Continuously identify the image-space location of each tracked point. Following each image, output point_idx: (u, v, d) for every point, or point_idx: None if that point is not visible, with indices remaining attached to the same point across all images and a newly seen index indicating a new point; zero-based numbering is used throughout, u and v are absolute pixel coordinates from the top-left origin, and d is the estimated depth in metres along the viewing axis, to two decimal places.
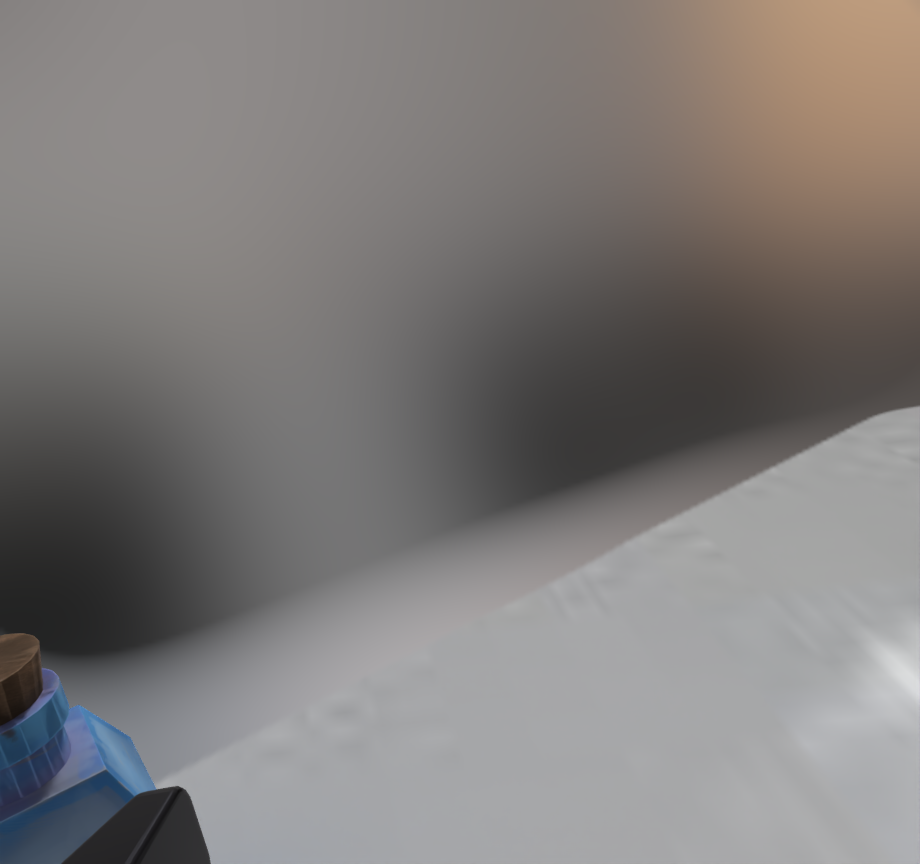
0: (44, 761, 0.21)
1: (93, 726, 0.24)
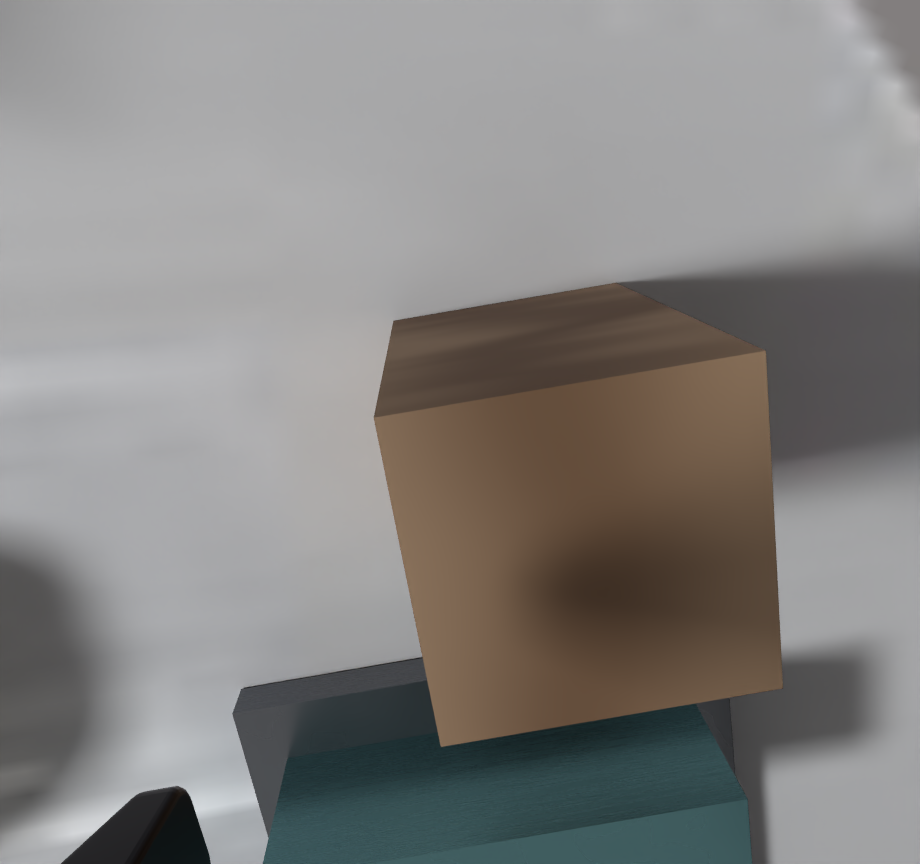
0: None
1: None
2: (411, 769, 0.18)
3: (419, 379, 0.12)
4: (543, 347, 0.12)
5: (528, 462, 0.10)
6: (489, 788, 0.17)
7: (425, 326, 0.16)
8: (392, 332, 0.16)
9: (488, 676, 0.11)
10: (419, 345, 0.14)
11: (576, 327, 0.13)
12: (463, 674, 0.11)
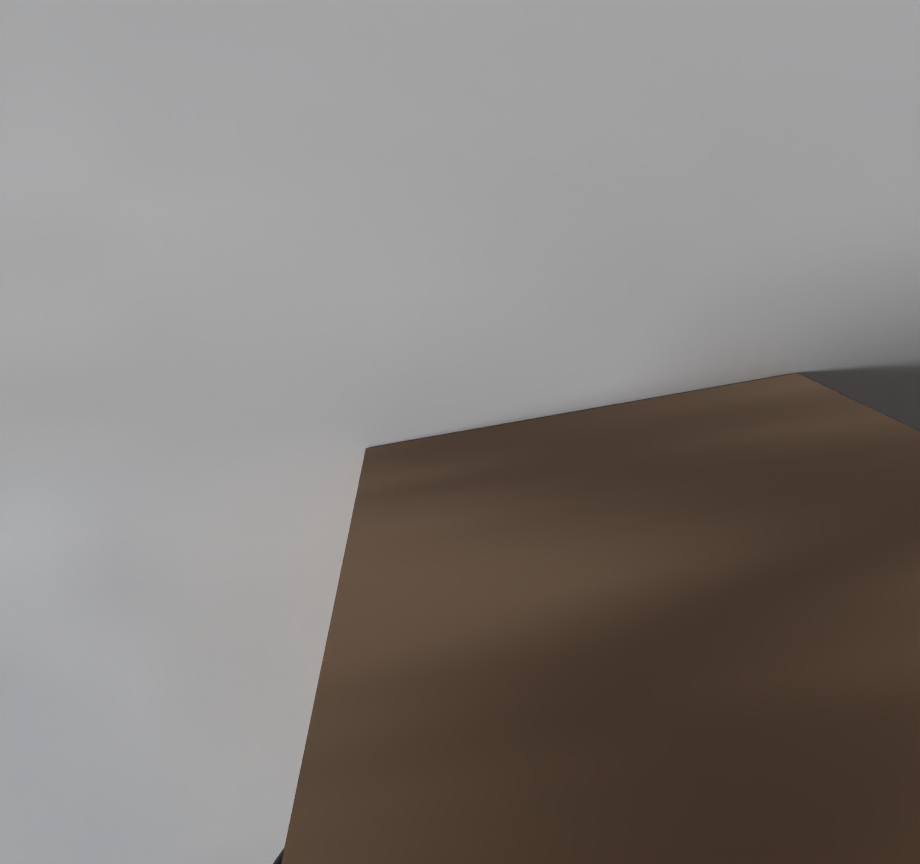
0: None
1: None
2: None
3: None
4: (815, 718, 0.04)
5: None
6: None
7: (428, 484, 0.08)
8: (358, 499, 0.08)
9: None
10: (414, 589, 0.06)
11: (846, 575, 0.05)
12: None
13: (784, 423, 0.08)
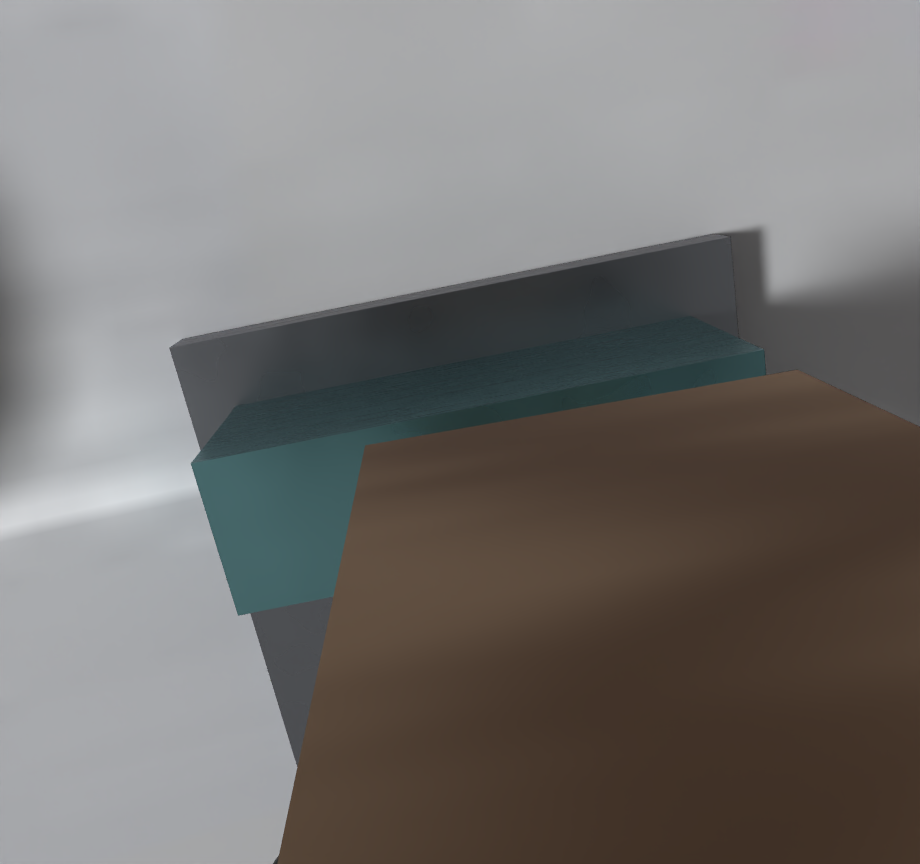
0: None
1: None
2: (375, 391, 0.16)
3: None
4: (818, 712, 0.04)
5: None
6: (463, 386, 0.15)
7: (427, 481, 0.08)
8: (357, 496, 0.08)
9: None
10: (413, 584, 0.06)
11: (847, 570, 0.05)
12: None
13: (784, 419, 0.08)
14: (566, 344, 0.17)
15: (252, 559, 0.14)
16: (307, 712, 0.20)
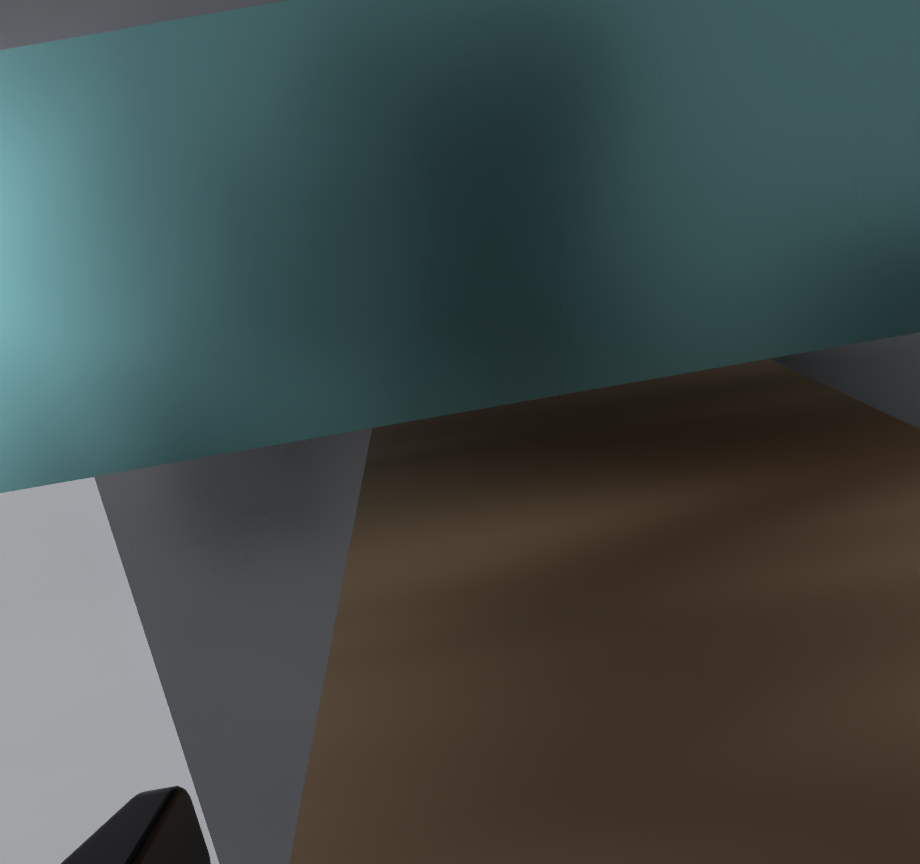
0: None
1: None
2: None
3: (419, 757, 0.04)
4: (743, 615, 0.05)
5: None
6: None
7: (429, 453, 0.09)
8: (367, 467, 0.08)
9: None
10: (418, 534, 0.07)
11: (783, 515, 0.06)
12: None
13: (747, 398, 0.08)
14: None
15: (21, 352, 0.06)
16: (220, 722, 0.11)
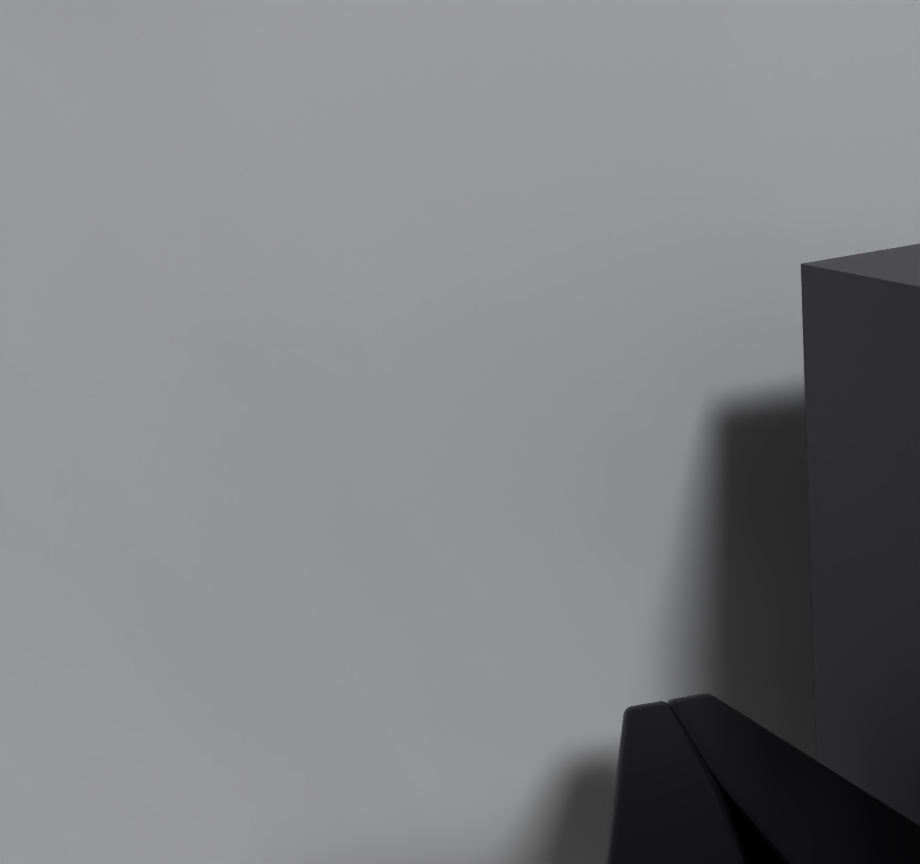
0: None
1: None
2: None
3: None
4: None
5: None
6: None
7: None
8: None
9: None
10: None
11: None
12: None
13: None
14: None
15: None
16: None
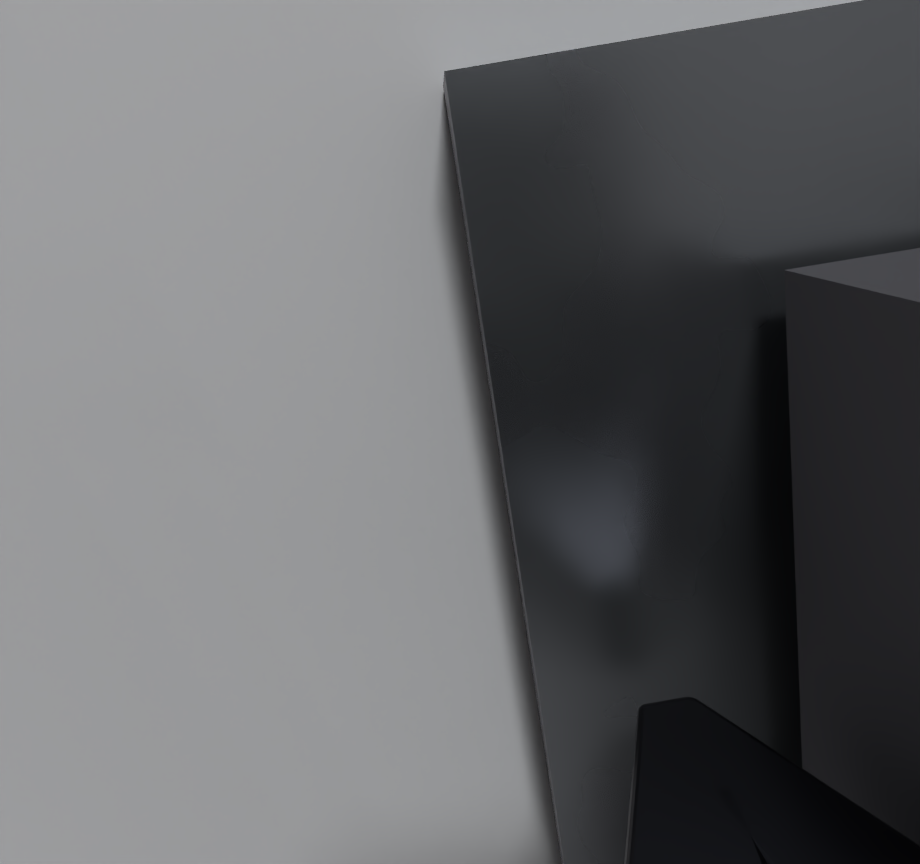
0: None
1: None
2: None
3: None
4: None
5: None
6: None
7: None
8: None
9: None
10: None
11: None
12: None
13: None
14: None
15: None
16: None
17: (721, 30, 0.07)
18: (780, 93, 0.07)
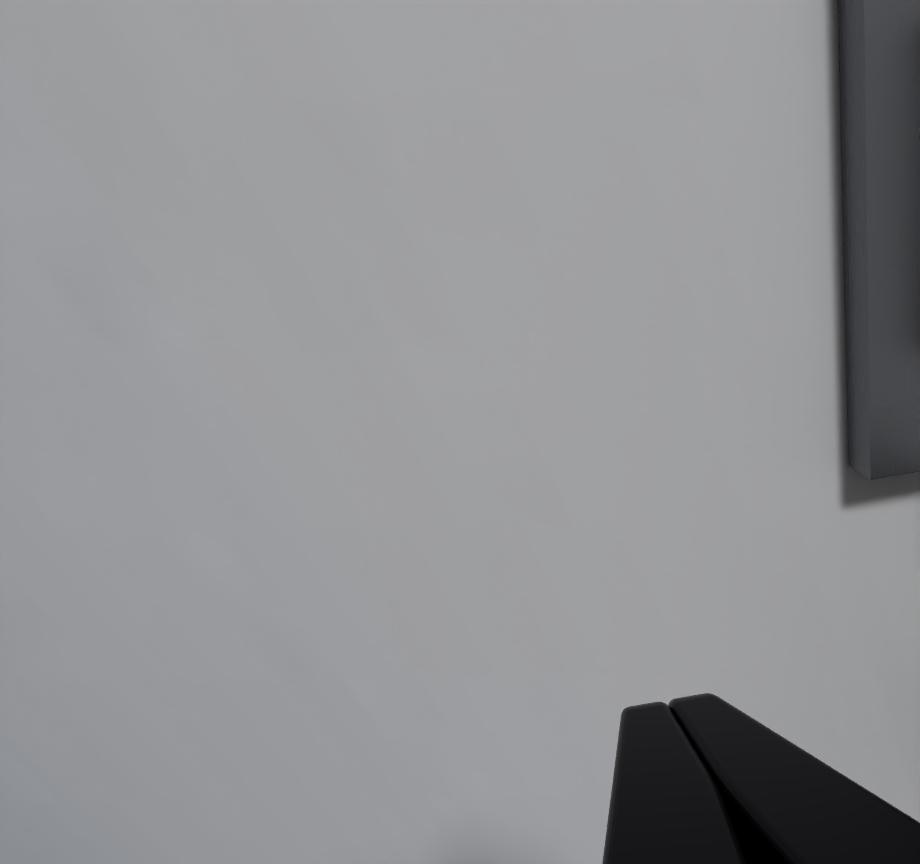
0: None
1: None
2: None
3: None
4: None
5: None
6: None
7: None
8: None
9: None
10: None
11: None
12: None
13: None
14: None
15: None
16: None
17: None
18: None
